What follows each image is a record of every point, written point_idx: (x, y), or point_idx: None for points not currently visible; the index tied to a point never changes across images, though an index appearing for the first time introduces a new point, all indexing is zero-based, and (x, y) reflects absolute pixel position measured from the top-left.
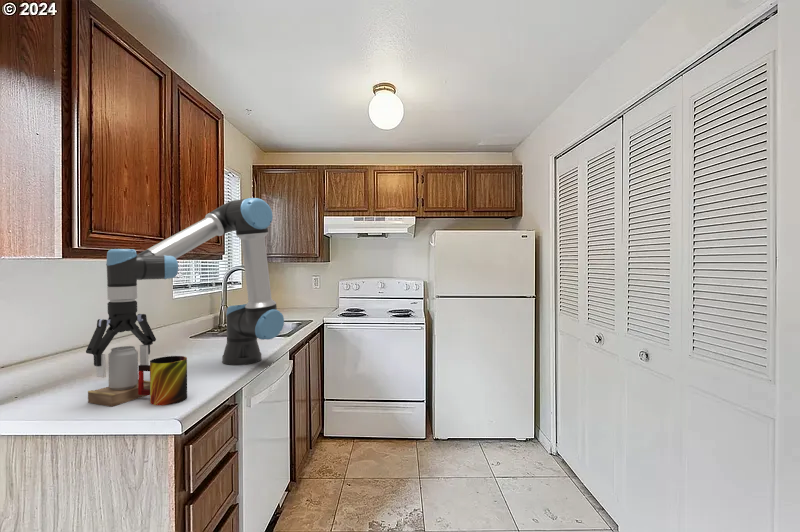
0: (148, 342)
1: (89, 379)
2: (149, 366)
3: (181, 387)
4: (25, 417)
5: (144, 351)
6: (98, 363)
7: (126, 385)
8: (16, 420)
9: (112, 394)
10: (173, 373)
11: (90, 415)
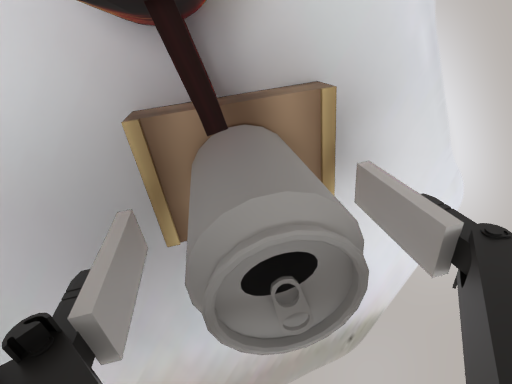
0: (49, 348)
1: (202, 376)
2: (188, 34)
3: None
4: (443, 191)
5: (115, 283)
6: (433, 201)
7: (261, 128)
8: (462, 184)
9: (331, 92)
10: None
11: (400, 49)
